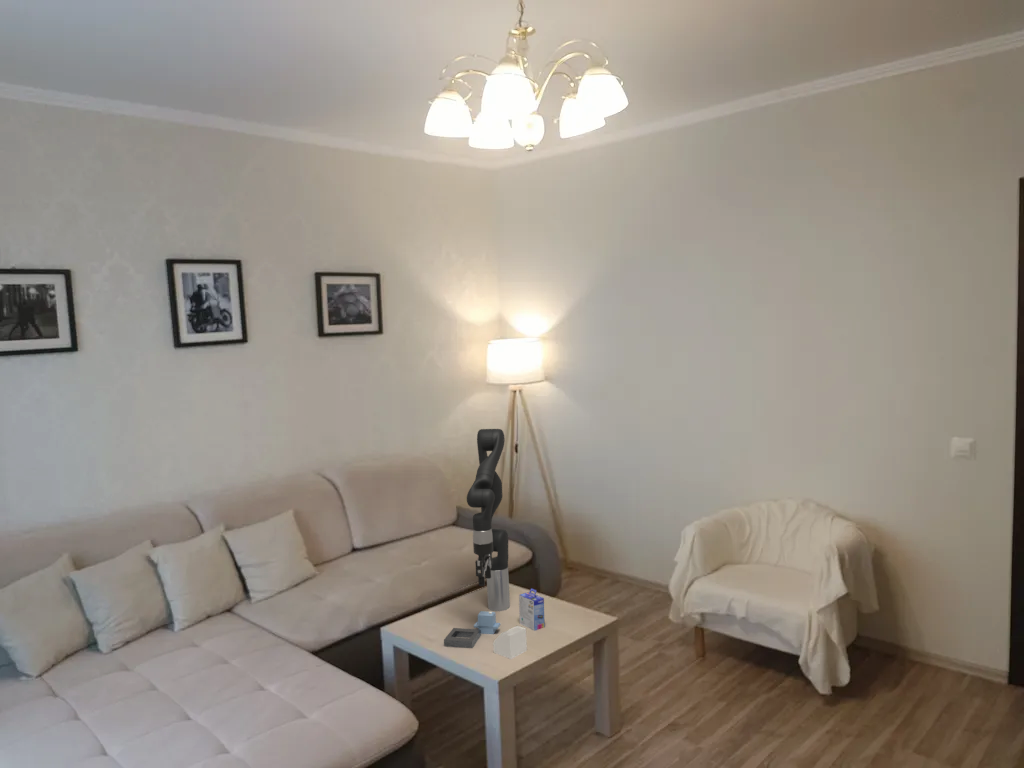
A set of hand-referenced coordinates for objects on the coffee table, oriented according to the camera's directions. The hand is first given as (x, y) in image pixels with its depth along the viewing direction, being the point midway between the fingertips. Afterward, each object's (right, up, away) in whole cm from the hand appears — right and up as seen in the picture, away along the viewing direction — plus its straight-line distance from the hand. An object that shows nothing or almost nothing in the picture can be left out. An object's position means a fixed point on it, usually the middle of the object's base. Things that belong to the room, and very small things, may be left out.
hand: (485, 581), depth 273 cm
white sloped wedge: (+12, -21, -15) cm, 28 cm away
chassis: (-8, -21, -6) cm, 23 cm away
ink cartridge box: (+18, -19, +5) cm, 27 cm away
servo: (+1, -20, +1) cm, 20 cm away
